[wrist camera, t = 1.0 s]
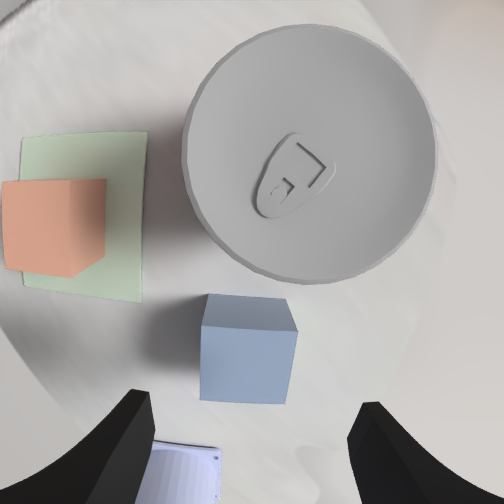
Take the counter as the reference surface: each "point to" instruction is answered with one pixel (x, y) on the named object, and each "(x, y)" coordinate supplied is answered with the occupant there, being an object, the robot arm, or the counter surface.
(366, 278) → the counter surface
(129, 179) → the plate
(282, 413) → the counter surface
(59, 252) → the terracotta brick
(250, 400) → the blue brick
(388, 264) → the counter surface
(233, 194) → the canned food
